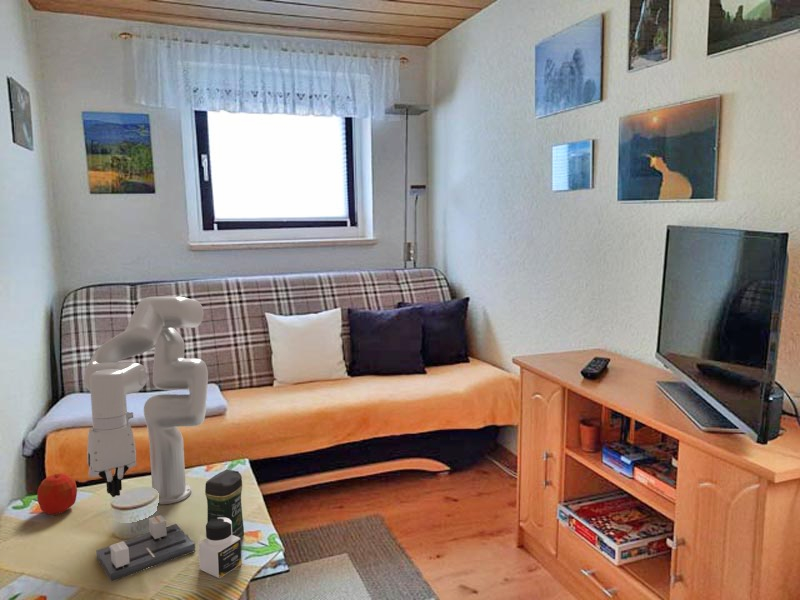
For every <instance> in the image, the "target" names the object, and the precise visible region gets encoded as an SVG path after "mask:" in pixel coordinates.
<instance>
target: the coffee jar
mask: <svg viewBox="0 0 800 600" xmlns="http://www.w3.org/2000/svg"><path fill="white" fill-rule="evenodd" d="M204 491H205V493H204V494H205V498H206V503H207V507H206V508H207V516H206V517H207V521H206V522H207V523H208V522H209V521H210V520H212V519H214V518H218V517H226V518H229V519H230V520H231V521H232V535H234V536H237V537H239V538H240V540H243V537H244V535H245V527H244V519H243V508H242V507H243V506H242V491H243V477H242V473H240V472H239V471H238V470H232V469H224V470H223V471H221V472H218V473H217V474H215V475H214V476H212V477H211V478H209V479H207V481H205V489H204ZM207 523H206V524H207Z"/></svg>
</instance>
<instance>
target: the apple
mask: <svg viewBox="0 0 800 600" xmlns="http://www.w3.org/2000/svg"><path fill="white" fill-rule="evenodd" d="M36 494H37V495H36V496H37V497H36V498H37V502H38V505H39V509H40V510H41V511H42V512H43V513H46V514H47V515H50V516H54V515H55V516H56V515H60V514H62V513H65V512H66V511H68V510H69V509H70V508H71V507H72V506H73V505H75V503H76V501H77V500H76V499H77V495H78V487H77V483H76V481H75V479H73V477H72V476H70V475H68V474H66V473H55V474H51V475H49V476H47V477H46V478H44V479H43V480H42V481H41V483H40V484H39V486H38V489H37V493H36Z"/></svg>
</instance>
